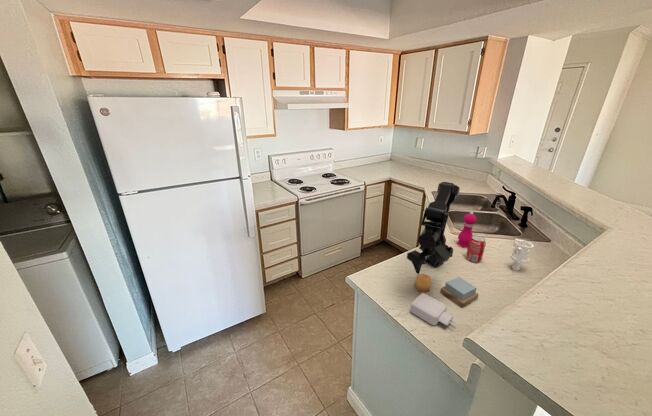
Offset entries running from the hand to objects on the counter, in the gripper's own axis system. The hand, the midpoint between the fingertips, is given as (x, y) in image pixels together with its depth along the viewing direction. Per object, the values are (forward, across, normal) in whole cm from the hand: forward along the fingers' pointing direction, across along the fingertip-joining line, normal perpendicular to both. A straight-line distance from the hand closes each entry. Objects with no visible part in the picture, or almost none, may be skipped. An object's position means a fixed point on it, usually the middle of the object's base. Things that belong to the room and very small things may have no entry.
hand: (425, 270), depth 109 cm
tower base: (+10, +9, -11) cm, 17 cm away
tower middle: (+6, +9, -11) cm, 16 cm away
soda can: (+9, +40, +2) cm, 41 cm away
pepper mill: (+9, +49, +13) cm, 51 cm away
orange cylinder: (+9, 0, 0) cm, 9 cm away
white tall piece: (+9, +50, -13) cm, 52 cm away
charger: (+9, -9, -14) cm, 19 cm away
